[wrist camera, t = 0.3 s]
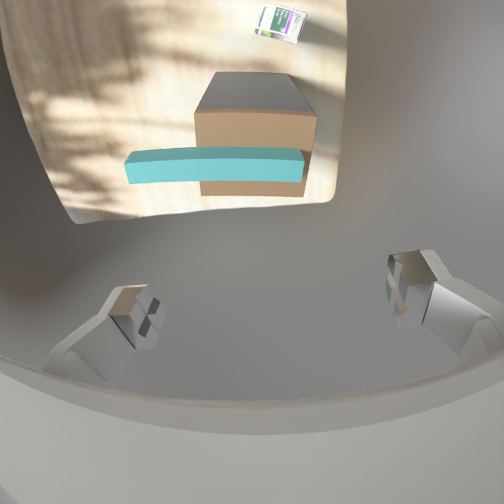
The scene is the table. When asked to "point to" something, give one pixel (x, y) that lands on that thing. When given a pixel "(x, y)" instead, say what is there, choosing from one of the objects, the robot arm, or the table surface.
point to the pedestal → (255, 126)
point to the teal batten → (215, 164)
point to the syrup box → (280, 23)
